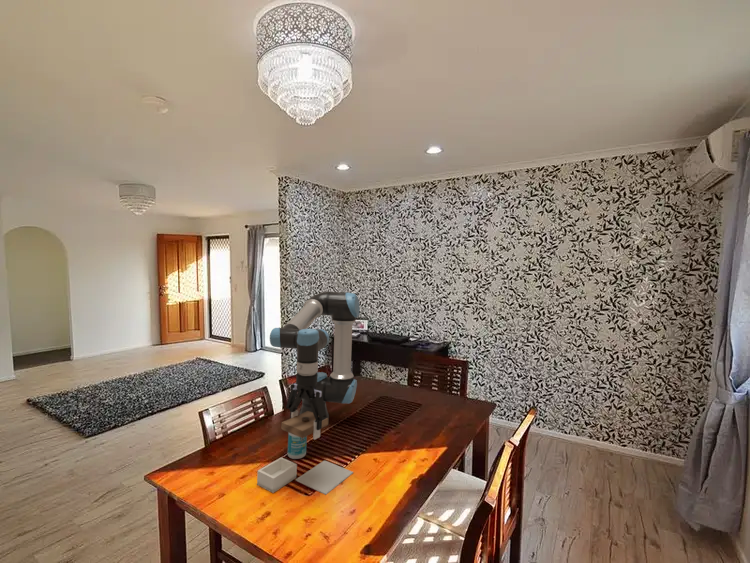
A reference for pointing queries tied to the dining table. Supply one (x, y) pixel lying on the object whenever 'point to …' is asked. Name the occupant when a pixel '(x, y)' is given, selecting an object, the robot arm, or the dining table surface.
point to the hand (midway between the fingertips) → (305, 433)
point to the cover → (301, 424)
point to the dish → (276, 474)
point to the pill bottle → (296, 446)
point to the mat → (324, 477)
